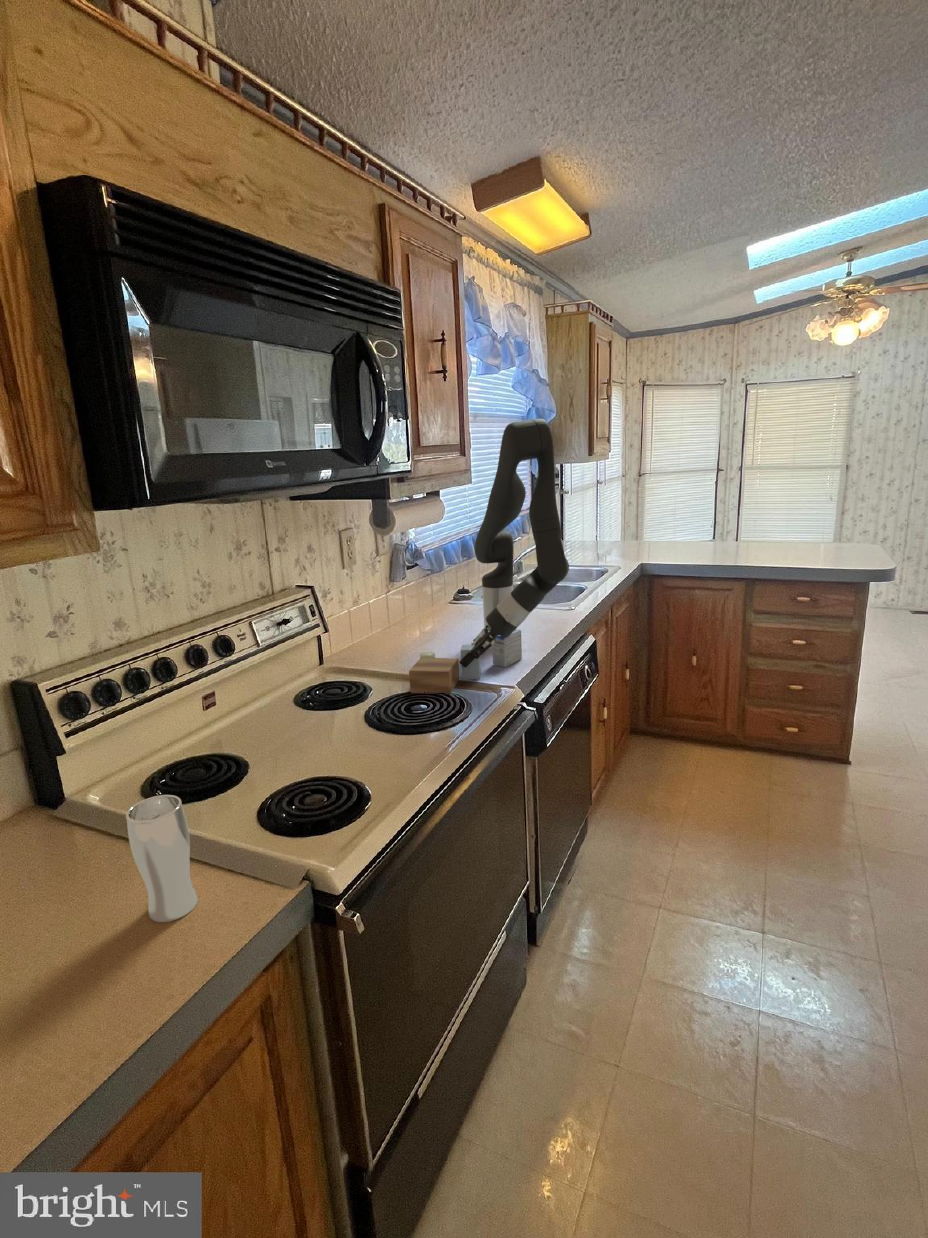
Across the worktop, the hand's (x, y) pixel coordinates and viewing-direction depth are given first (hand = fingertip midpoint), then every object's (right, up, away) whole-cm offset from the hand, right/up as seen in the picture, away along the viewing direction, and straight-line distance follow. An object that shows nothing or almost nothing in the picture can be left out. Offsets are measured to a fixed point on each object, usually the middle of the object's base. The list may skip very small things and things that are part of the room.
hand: (463, 661), depth 167 cm
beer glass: (-39, -28, -80) cm, 93 cm away
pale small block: (-9, -3, +7) cm, 12 cm away
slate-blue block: (+2, -4, +1) cm, 5 cm away
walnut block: (-7, -6, -4) cm, 10 cm away
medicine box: (+12, -1, +11) cm, 16 cm away
